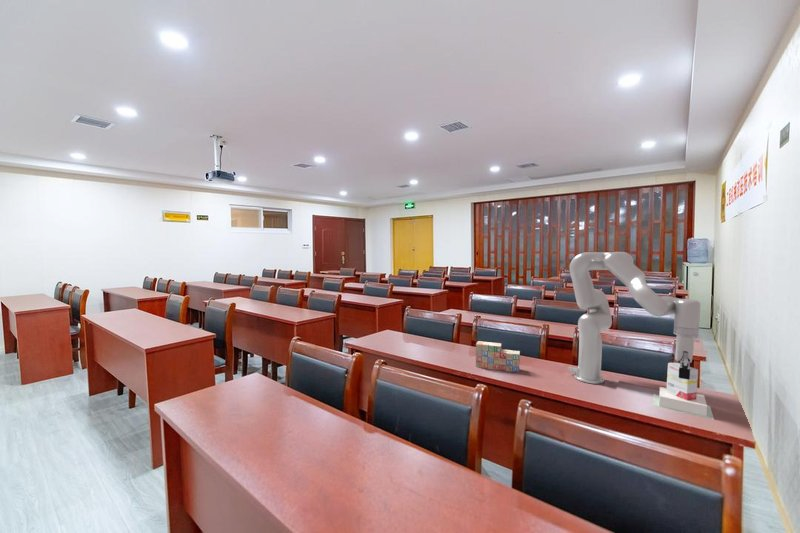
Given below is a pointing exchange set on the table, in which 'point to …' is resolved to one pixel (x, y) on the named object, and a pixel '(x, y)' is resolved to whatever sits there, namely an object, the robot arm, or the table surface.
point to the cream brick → (683, 403)
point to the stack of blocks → (496, 357)
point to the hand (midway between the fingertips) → (683, 374)
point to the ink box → (681, 382)
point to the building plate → (656, 404)
